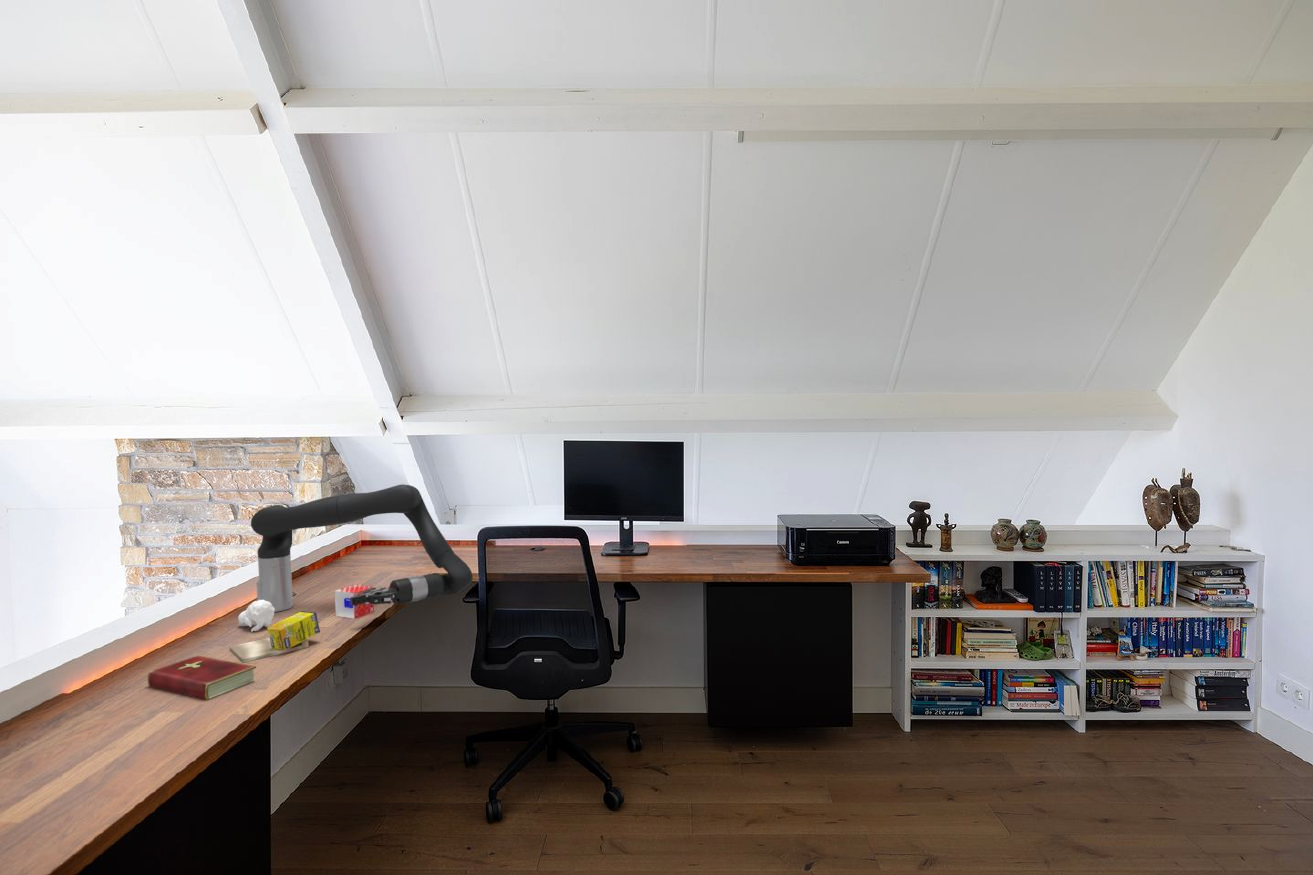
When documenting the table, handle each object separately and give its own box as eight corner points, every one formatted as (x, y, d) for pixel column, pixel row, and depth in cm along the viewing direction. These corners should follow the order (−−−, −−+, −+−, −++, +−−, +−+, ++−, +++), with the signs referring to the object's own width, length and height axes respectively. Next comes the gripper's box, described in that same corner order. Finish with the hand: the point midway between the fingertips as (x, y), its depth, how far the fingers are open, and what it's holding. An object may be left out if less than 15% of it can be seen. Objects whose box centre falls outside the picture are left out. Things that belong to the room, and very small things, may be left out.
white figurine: (255, 603, 203) (229, 602, 209) (258, 632, 203) (232, 631, 209) (275, 597, 209) (249, 597, 214) (278, 626, 209) (252, 625, 215)
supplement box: (321, 631, 195) (286, 650, 186) (306, 630, 198) (271, 648, 188) (316, 611, 194) (281, 629, 185) (301, 610, 197) (266, 627, 187)
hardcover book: (206, 702, 157) (205, 683, 157) (148, 688, 166) (147, 670, 166) (256, 682, 168) (255, 664, 168) (199, 670, 177) (198, 653, 177)
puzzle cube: (374, 611, 224) (373, 586, 223) (354, 618, 217) (353, 593, 216) (356, 608, 227) (355, 584, 227) (335, 615, 220) (334, 590, 220)
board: (243, 662, 180) (243, 655, 180) (229, 649, 191) (229, 642, 190) (308, 647, 191) (308, 640, 191) (292, 635, 201) (292, 629, 201)
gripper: (399, 574, 222) (342, 584, 210) (417, 581, 212) (359, 592, 200) (400, 597, 222) (343, 609, 210) (419, 605, 213) (360, 619, 201)
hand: (351, 601), depth 205 cm, fingers closed
